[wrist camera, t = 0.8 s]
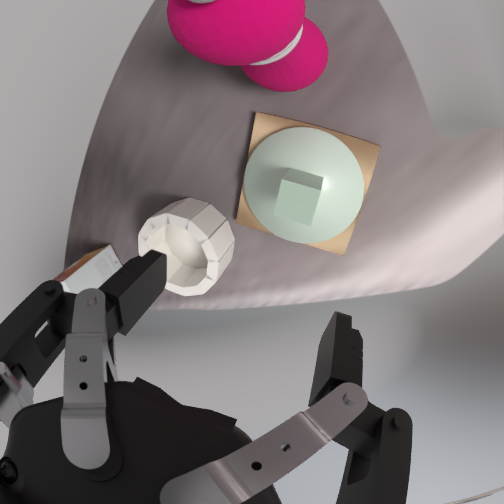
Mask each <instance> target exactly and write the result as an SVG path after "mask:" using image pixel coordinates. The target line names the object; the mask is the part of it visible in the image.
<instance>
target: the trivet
mask: <svg viewBox="0 0 504 504" xmlns="http://www.w3.org/2000/svg"><path fill="white" fill-rule="evenodd" d="M293 127H311V128H316V129H320V130H323V131H325V132H328V133H330V134H332V135H334V136H335V137H337V138H338V139H339V140H341V141H342V142H343V143H344V144H345V145H346V146H347V147H348V148H349V149H350V150H351V152H352V153H353V155H354V156H355V158H356V159H357V162H358V164H359V166H360V168H361V172H362V175H363V181H364V195H363V201H364V198H365V195H366V192H367V189H368V186H369V183H370V180H371V177H372V174H373V171H374V168H375V164H376V161H377V158H378V155H379V151H380V148H381V147H380V146H379V145H377V144H374V143H371V142H368V141H365V140H362V139H359V138H356V137H353V136H350V135H347V134H344V133H340V132H337V131H334V130H330V129H327V128H323V127H320V126H316V125H312V124H309V123H305V122H301V121H297V120H293V119H289V118H284V117H280V116H275V115H271V114H266V113H261V112H256V116H255V122H254V127H253V132H252V137H251V142H250V148H249V153H248V158H247V163H248V161H249V158H250V157H251V155H252V153H253V152H254V150H255V149H256V148H257V146H258V145H259V144H260V143H261V142H263V141H264V140H265V139H266V138H268V137H269V136H271V135H273V134H275V133H277V132H279V131H282V130H284V129H288V128H293ZM246 166H247V164H246ZM245 170H246V169H245ZM244 176H245V174H244ZM363 201H362V204H363ZM361 207H362V205H361ZM360 210H361V208H360ZM360 210H359V212H358V214H357V216H356V218H355V219H354V221H353V222H352V223H351V224H350V226H348V227H347V228H346V229H345V230H344V231H343V232H341V233H340V234H339V235H337V236H335V237H333V238H331V239H328V240H326V241H322V242H318V243H304V244H307V245H310V246H314V247H317V248H320V249H323V250H326V251H329V252H333V253H336V254H339V255H342V256H343V255H344V253H345V250H346V248H347V245H348V242H349V240H350V237H351V235H352V232H353V229H354V226H355V224H356V221H357V218H358V215H359V213H360ZM236 223H238V224H241V225H244V226H248V227H251V228H254V229H258V230H261V231H264V232H268V233H271V234H273V233H272V232H270V231H269V230H268V229H266V228H265V227H264V226H263V225H262V224H261V223H260V222H259V221H258V220H257V218H256V217H255V216H254V214H253V212H252V211H251V209H250V207H249V204H248V202H247V199H246V195H245V189H244V180H243V185H242V191H241V196H240V202H239V208H238V213H237V219H236ZM274 235H275V234H274Z"/></svg>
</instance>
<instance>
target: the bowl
mask: <svg viewBox="0 0 504 504" xmlns="http://www.w3.org/2000/svg"><path fill="white" fill-rule="evenodd" d="M234 240H235V238H234V236H233V233H232V231H231V228H230V225H229V223H228V220H226V218H225V217H224V216H223V215H222V214H221V213H220V212H219V211H218V210H217V209H216V208H215V207H214V206H212V205H211V204H209V203H208V202H204V201H201V200H197V199H193V198H185V199H182V200H179V201H176V202H173V203H171V204H169V205H168V206H166V207H165V208H163V209H162V210H160V211H159V212H157V213H156V214H154V215H153V216H152V217H150V218H149V219H147V221H146V223H145V224H144V226H143V227H142V229H141V231H140V232H139V235H138V245H139V254H140V256H144V255H145V254H146V253H147V252H148V251H149V250H151V249H153V250H156V251H159V252H161V253H164V254H166V255H167V282H166V285H165V287H166V289H167V290H170V291H172V292H175V293H178V294H180V295H183V296H184V295H185V296H191V295H201V294H204V293H205V292H206V291H207V290H208V289H209V288H210V287H211V286H213V285H214V284H215V283H216V281H217V280H218V278H219V277H220V276H221V274H222V273H223V271H224V270H225V268H226V267H227V265H228V264H229V262H230V261H231V259H232V255H233V249H234V244H235V241H234Z"/></svg>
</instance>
